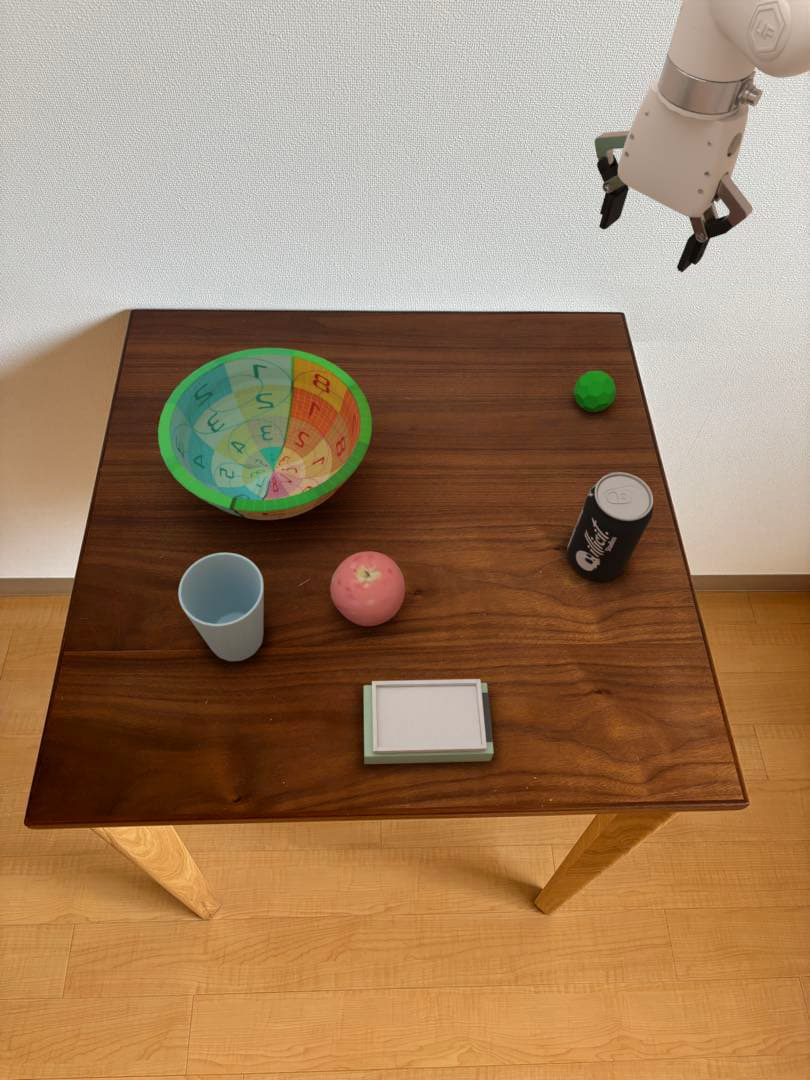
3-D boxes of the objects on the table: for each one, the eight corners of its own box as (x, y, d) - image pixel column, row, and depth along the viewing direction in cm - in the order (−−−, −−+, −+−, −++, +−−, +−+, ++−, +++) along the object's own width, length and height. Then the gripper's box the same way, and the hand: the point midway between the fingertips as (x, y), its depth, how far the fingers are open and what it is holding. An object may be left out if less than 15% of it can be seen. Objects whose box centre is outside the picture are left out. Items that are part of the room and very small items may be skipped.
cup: (182, 632, 83) (161, 582, 74) (245, 590, 86) (232, 537, 77) (225, 686, 80) (208, 641, 72) (288, 641, 83) (279, 592, 74)
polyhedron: (611, 420, 101) (621, 394, 97) (571, 418, 101) (580, 391, 97) (608, 390, 104) (618, 364, 100) (569, 388, 104) (578, 361, 100)
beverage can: (628, 585, 88) (662, 524, 78) (568, 583, 88) (594, 522, 78) (620, 534, 92) (652, 469, 82) (562, 532, 92) (587, 467, 82)
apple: (368, 652, 83) (369, 617, 76) (318, 608, 85) (314, 569, 79) (417, 606, 86) (422, 568, 79) (367, 564, 88) (368, 524, 82)
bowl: (233, 384, 102) (221, 323, 93) (400, 439, 98) (403, 381, 89) (138, 522, 90) (115, 467, 82) (323, 590, 87) (318, 540, 78)
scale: (484, 691, 81) (488, 677, 78) (490, 761, 77) (495, 749, 74) (363, 694, 81) (363, 680, 77) (364, 764, 77) (364, 752, 74)
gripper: (812, 103, 71) (736, 265, 85) (643, 29, 76) (599, 192, 91) (771, 139, 68) (699, 300, 82) (598, 59, 73) (560, 223, 88)
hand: (647, 243), depth 86 cm, fingers open, 9 cm apart
